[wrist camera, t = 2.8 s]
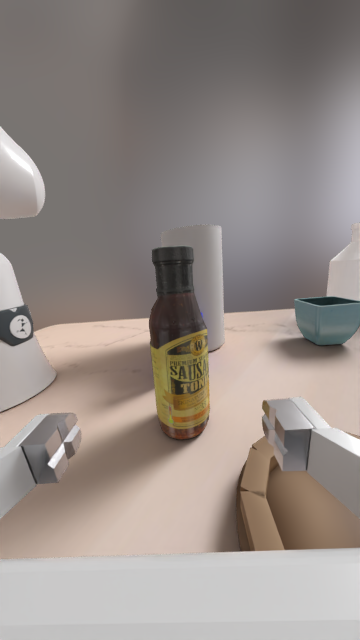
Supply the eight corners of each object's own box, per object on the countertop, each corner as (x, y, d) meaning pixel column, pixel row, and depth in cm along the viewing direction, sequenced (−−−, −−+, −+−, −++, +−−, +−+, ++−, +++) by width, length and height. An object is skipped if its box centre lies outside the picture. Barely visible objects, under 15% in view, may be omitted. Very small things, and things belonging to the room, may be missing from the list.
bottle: (321, 311, 62) (330, 229, 56) (370, 312, 57) (387, 221, 50) (326, 321, 53) (338, 223, 46) (386, 324, 47) (409, 212, 40)
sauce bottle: (180, 455, 19) (156, 241, 13) (149, 419, 24) (122, 252, 18) (223, 420, 22) (217, 242, 17) (189, 395, 27) (176, 251, 22)
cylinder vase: (233, 349, 41) (231, 222, 34) (175, 358, 39) (162, 227, 33) (215, 331, 53) (211, 235, 46) (170, 337, 51) (160, 239, 45)
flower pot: (290, 335, 45) (293, 298, 43) (328, 332, 45) (333, 295, 43) (313, 350, 37) (318, 306, 35) (361, 347, 36) (369, 302, 34)
